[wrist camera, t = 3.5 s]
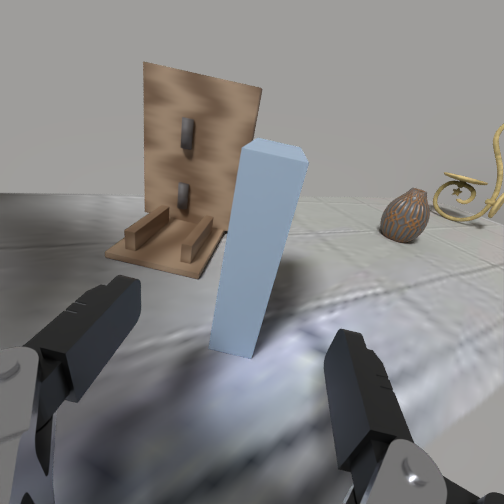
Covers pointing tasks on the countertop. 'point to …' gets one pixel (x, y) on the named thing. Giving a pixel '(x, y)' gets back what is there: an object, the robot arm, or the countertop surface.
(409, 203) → the vase
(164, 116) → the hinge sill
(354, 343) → the robot arm
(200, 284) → the countertop surface
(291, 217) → the light blue rectangular block
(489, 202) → the wall sconce
